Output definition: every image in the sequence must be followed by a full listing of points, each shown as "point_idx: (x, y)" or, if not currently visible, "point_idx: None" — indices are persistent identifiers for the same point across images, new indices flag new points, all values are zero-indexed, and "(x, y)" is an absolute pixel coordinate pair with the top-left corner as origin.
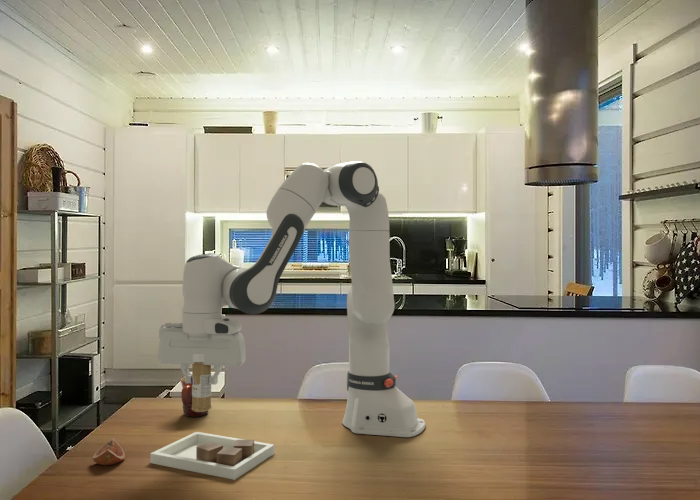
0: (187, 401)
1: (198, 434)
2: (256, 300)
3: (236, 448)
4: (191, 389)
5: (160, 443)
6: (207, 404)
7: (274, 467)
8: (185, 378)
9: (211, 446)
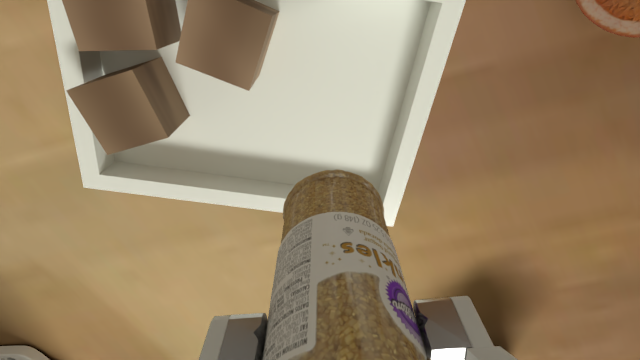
0: None
1: None
2: None
3: (100, 45)
4: None
5: (495, 180)
6: (286, 214)
7: (48, 94)
8: (480, 325)
9: (213, 39)
